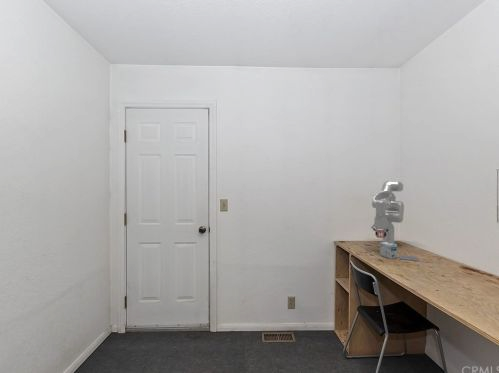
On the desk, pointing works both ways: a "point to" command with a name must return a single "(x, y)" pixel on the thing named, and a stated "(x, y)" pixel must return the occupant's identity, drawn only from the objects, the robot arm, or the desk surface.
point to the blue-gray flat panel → (408, 258)
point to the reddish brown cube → (380, 233)
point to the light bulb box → (388, 250)
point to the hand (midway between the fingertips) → (380, 236)
